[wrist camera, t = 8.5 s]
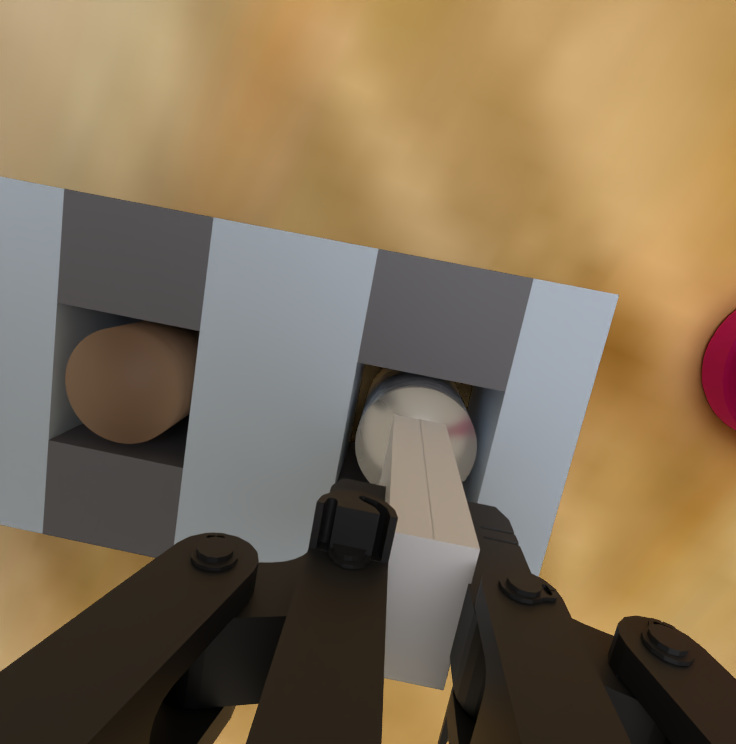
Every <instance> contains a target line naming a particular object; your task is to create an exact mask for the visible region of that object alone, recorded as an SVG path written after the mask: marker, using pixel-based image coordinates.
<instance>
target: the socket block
mask: <svg viewBox="0 0 736 744" xmlns="http://www.w3.org/2000/svg"><path fill="white" fill-rule="evenodd" d="M618 297H619V295H617V294H612V293H606V292H601V291H596V290H591V289H585V288H580V287H575V286H570V285H565V284H559V283H554V282H549V281H544V280H538V279H533V278H528V277H523V276H517V275H512V274H507V273H502V272H497V271H491V270H486V269H481V268H476V267H470V266H465V265H460V264H455V263H449V262H444V261H439V260H434V259H429V258H423V257H418V256H413V255H408V254H402V253H397V252H392V251H387V250H382V249H376V248H371V247H366V246H361V245H355V244H350V243H345V242H340V241H334V240H329V239H324V238H319V237H314V236H308V235H303V234H298V233H293V232H287V231H282V230H277V229H272V228H266V227H261V226H256V225H251V224H246V223H240V222H235V221H230V220H225V219H219V218H214V217H209V216H204V215H198V214H193V213H188V212H183V211H178V210H172V209H167V208H162V207H157V206H151V205H146V204H141V203H136V202H131V201H125V200H120V199H115V198H110V197H104V196H99V195H94V194H89V193H83V192H78V191H73V190H68V189H63V188H57V187H52V186H47V185H42V184H36V183H31V182H26V181H21V180H15V179H10V178H5V177H0V525H4V526H8V527H13V528H18V529H22V530H27V531H32V532H37V533H41V534H46V535H51V536H55V537H60V538H65V539H69V540H74V541H79V542H84V543H88V544H93V545H98V546H102V547H107V548H112V549H116V550H121V551H126V552H131V553H135V554H140V555H145V556H149V557H154V558H157V557H158V556H159V555H161V554H162V553H164V552H165V551H166V550H168V549H169V548H170V547H172V546H173V545H175V544H176V543H177V542H179V541H181V540H183V539H185V538H187V537H189V536H193V535H198V534H203V533H213V532H215V533H225V534H228V535H233V536H237V537H239V538H241V539H243V540H245V541H247V542H249V543H250V544H251V545H252V546H253V547H254V548H255V550H256V551H257V553H258V560H259V562H283V561H288V560H292V559H296V558H298V557H300V556H302V555H304V554H305V553H307V551H308V547H309V542H310V536H311V531H312V525H313V519H314V514H315V508H316V503H317V501H318V500H319V498H320V497H321V496H322V495H324V494H327V493H329V492H330V489H331V486H332V485H333V484H335V483H336V482H338V481H340V480H341V479H343V478H346V479H351V480H356V481H361V482H366V483H370V482H369V481H368V480H367V479H366V477H365V476H364V474H363V472H362V471H361V469H360V466H359V464H358V461H357V457H356V451H355V442H351V441H350V439H351V434H352V428H353V423H354V418H355V413H356V407H357V402H358V397H359V392H360V386H361V381H362V376H363V370H364V365H365V364H368V365H373V366H378V367H383V368H388V369H393V370H398V371H403V372H408V373H413V374H418V375H423V376H428V377H434V378H439V379H444V380H449V381H454V382H459V383H464V384H469V385H473V387H472V392H471V396H470V400H469V404H468V408H467V412H468V415H469V417H470V419H471V422H472V424H473V427H474V429H475V433H476V439H477V453H476V458H475V462H474V465H473V467H472V469H471V472H470V473H469V475H468V476H467V478H466V479H465V481H464V482H463V483H462V485H463V489H464V493H465V496H466V500H467V501H469V502H474V503H479V504H484V505H489V506H494V507H496V508H497V509H498V510H499V511H500V512H501V513H502V514H504V515H505V516H506V517H507V518H508V519H509V521H510V523H511V526H512V528H513V530H514V535H516V538H517V540H518V542H519V546H520V547H521V550H522V552H523V554H524V557H525V559H526V562H527V564H528V566H529V569H530V571H531V573H532V574H534V575H536V576H539V573H540V569H541V566H542V562H543V559H544V555H545V552H546V548H547V545H548V541H549V538H550V534H551V531H552V527H553V524H554V520H555V517H556V513H557V510H558V506H559V503H560V499H561V496H562V492H563V489H564V485H565V482H566V478H567V475H568V471H569V468H570V464H571V461H572V457H573V454H574V450H575V447H576V443H577V440H578V436H579V433H580V429H581V426H582V423H583V419H584V416H585V412H586V409H587V405H588V402H589V398H590V395H591V391H592V388H593V384H594V381H595V377H596V374H597V370H598V367H599V363H600V360H601V356H602V353H603V349H604V346H605V342H606V339H607V335H608V332H609V328H610V325H611V321H612V318H613V314H614V311H615V307H616V304H617V300H618ZM144 320H146V321H151V322H156V323H161V324H166V325H171V326H176V327H181V328H187V329H192V330H197V331H200V333H199V341H198V350H197V358H196V366H195V375H194V383H193V391H192V399H191V408H190V414H189V415H188V416H186V417H185V418H183V419H182V420H180V421H179V422H177V423H176V424H174V425H173V426H171V427H170V428H168V429H167V430H166V431H164V432H163V433H161V434H160V435H158V436H156V437H155V438H153V439H150V440H148V441H145V442H141V443H135V444H124V443H117V442H113V441H110V440H107V439H105V438H103V437H101V436H99V435H97V434H96V433H94V432H93V431H91V430H90V429H89V428H88V427H87V426H86V425H84V423H83V422H82V421H81V420H80V419H79V418H78V416H77V415H76V413H75V412H74V410H73V408H72V406H71V404H70V402H69V399H68V396H67V392H66V385H65V373H66V367H67V363H68V360H69V358H70V356H71V354H72V352H73V350H74V349H75V347H76V346H77V345H78V344H79V343H80V342H81V341H82V340H83V339H84V338H85V337H87V336H89V335H90V334H92V333H94V332H96V331H99V330H102V329H106V328H111V327H116V326H121V325H126V324H131V323H136V322H141V321H144Z"/></svg>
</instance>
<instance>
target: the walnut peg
mask: <svg viewBox="0 0 736 744" xmlns="http://www.w3.org/2000/svg"><path fill="white" fill-rule="evenodd" d="M199 333H200V331H197V330H192V329H187V328H181V327H176V326H171V325H166V324H161V323H156V322H151V321H146V320H145V321H141V322H136V323H131V324H126V325H121V326H116V327H111V328H106V329H102V330H99V331H96V332H94V333H92V334H90V335H89V336H87V337H85V338H84V339H83V340H82V341H81V342H80V343H79V344H78V345H77V346H76V347H75V349H74V350H73V352H72V354H71V356H70V358H69V360H68V363H67V367H66V373H65V385H66V392H67V396H68V399H69V402H70V404H71V406H72V408H73V410H74V412H75V413H76V415H77V416H78V418H79V419H80V420H81V421H82V422H83V423H84V425H86V426H87V427H88V428H89V429H90V430H91V431H93V432H94V433H96V434H97V435H99V436H101V437H103V438H105V439H107V440H110V441H113V442H117V443H124V444H135V443H141V442H145V441H148V440H150V439H153V438H155V437H156V436H158V435H160V434H161V433H163V432H164V431H166V430H167V429H168V428H170V427H171V426H173V425H174V424H176V423H177V422H179V421H180V420H182V419H183V418H185V417H186V416H188V415H189V414H190V408H191V399H192V391H193V383H194V375H195V366H196V358H197V350H198V341H199Z"/></svg>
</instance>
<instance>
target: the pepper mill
mask: <svg viewBox="0 0 736 744" xmlns="http://www.w3.org/2000/svg"><path fill="white" fill-rule="evenodd" d="M702 385H703V389H704V392H705V395H706V398H707V401H708V403H709V405H710V407H711V408H712V410H713V411H714V412H715V414H716V415H717V416H718V417H719V418H720V419H721V420H722V421H723V422H724V423H725V424H726V425H728V426H729V427H731V428H732V429H734V430H736V310H735V311H734V312H733V313H732V314H730V315H729V316H728V317H727V318H726V320H725V321H724V322H723V323H722V324H721V325H720V326H719V327H718V329H717V330H716V332H715V334H714V335H713V337H712V339H711V340H710V342H709V344H708V347H707V349H706V352H705V355H704V359H703V366H702Z"/></svg>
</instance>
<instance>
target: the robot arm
mask: <svg viewBox="0 0 736 744" xmlns="http://www.w3.org/2000/svg"><path fill="white" fill-rule="evenodd" d="M450 664H451V672H452V680H453V687H452V691H451V695H450V699H449V702H448V706H447V710H446V714H445V718H444V721H443V725H442V729H441V733H440V736H439V740H438V744H446V743H447V742H448V741H449V744H736V679H735V678H734V677H733V676H732V675H731V674H730V673H729V672H728V671H727V670H726V669H725V668H724V667H723V666H722V665H720V664H719V663H718V662H717V661H716V660H715V659H714V658H713V657H712V656H711V655H710V654H709V653H708V652H707V651H706V650H705V649H704V648H703V647H701V646H700V645H699V644H698V643H696V642H695V641H694V640H693V639H691V638H690V637H689V636H687V635H686V634H684V633H682V632H680V631H679V630H677V629H676V628H675V627H674V626H672V625H670V624H667V623H665V622H663V623H662V622H661V621H660V620H657V619H653V618H646V617H641V616H630V617H624V618H623V619H622V620H621V621H620V622H619V623H618V626H617V629H616V631H615V634H614V636H612V635H610V634H607V633H605V632H602V631H600V630H597V629H595V628H593V627H590V626H588V625H585V624H583V623H581V622H579V621H576V620H574V619H572V618H571V616H570V613H569V611H568V609H567V607H566V605H565V603H564V601H563V599H562V597H561V596H560V595H559V593H558V592H557V591H556V589H555V588H554V587H552V586H551V585H550V584H548V583H547V582H546V581H545V580H543V579H542V578H540V577H538V576H536V575H534V574H532V573H531V571H530V569H529V566H528V564H527V562H526V559H525V557H524V554H523V552H522V550H521V547H520V546H519V542H518V540H517V538H516V535H514V530H513V528H512V526H511V523H510V521H509V519H508V518H507V517H506V516H505V515H504V514H502V513H501V512H500V511H499V510H498V509H497V508H496V507H494V506H489V505H484V504H479V503H474V502H469V501H467V500H466V496H465V493H464V489H463V485H462V482H461V478H460V474H459V471H458V467H457V463H456V460H455V456H454V453H453V449H452V445H451V442H450V438H449V434H448V431H447V427H446V424H441V423H436V422H431V421H426V420H421V419H416V418H411V417H405V416H400V415H395V414H394V416H393V421H392V426H391V431H390V436H389V440H388V445H387V450H386V455H385V460H384V465H383V469H382V474H381V479H380V484H379V485H376V484H371V483H366V482H361V481H356V480H351V479H346V478H343V479H341V480H340V481H338V482H336V483H335V484H333V485H332V486H331V489H330V492H329V493H327V494H324V495H322V496H321V497H320V498H319V500H318V501H317V503H316V508H315V514H314V519H313V525H312V531H311V536H310V542H309V547H308V551H307V553H305V554H304V555H302V556H300V557H298V558H296V559H292V560H288V561H283V562H259V560H258V553H257V551H256V550H255V548H254V547H253V546H252V545H251V544H250V543H249V542H247V541H245V540H243V539H241V538H239V537H237V536H233V535H228V534H225V533H215V532H213V533H203V534H198V535H193V536H189V537H187V538H185V539H183V540H181V541H179V542H177V543H176V544H175V545H173V546H172V547H170V548H169V549H168V550H166V551H165V552H164V553H162V554H161V555H159V556H158V557H157V558H155V559H154V560H153V561H151V562H150V563H148V564H147V565H146V566H144V567H143V568H142V569H140V570H139V571H138V572H136V573H135V574H133V575H132V576H131V577H129V578H128V579H127V580H125V581H124V582H122V583H121V584H120V585H118V586H117V587H116V588H114V589H113V590H112V591H110V592H109V593H107V594H106V595H105V596H103V597H102V598H101V599H99V600H98V601H96V602H95V603H94V604H92V605H91V606H90V607H88V608H87V609H85V610H84V611H83V612H81V613H80V614H79V615H77V616H76V617H75V618H73V619H72V620H70V621H69V622H68V623H66V624H65V625H64V626H62V627H61V628H59V629H58V630H57V631H55V632H54V633H53V634H51V635H50V636H48V637H47V638H46V639H44V640H43V641H42V642H40V643H39V644H38V645H36V646H35V647H33V648H32V649H31V650H29V651H28V652H27V653H25V654H24V655H22V656H21V657H20V658H18V659H17V660H16V661H14V662H13V663H11V664H10V665H9V666H7V667H6V668H5V669H3V670H2V671H1V672H0V744H213V743H214V741H215V740H216V739H217V737H218V736H219V734H220V733H221V731H222V730H223V728H224V727H225V725H226V724H227V723H228V721H229V720H230V718H231V716H232V713H233V711H234V709H235V706H236V705H247V704H258V707H257V711H256V714H255V717H254V720H253V723H252V726H251V729H250V733H249V736H248V739H247V742H246V744H381V739H382V713H383V686H384V678H387V679H392V680H397V681H402V682H406V683H411V684H416V685H421V686H425V687H430V688H435V689H440V690H444V686H445V683H446V679H447V675H448V671H449V667H450Z"/></svg>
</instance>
